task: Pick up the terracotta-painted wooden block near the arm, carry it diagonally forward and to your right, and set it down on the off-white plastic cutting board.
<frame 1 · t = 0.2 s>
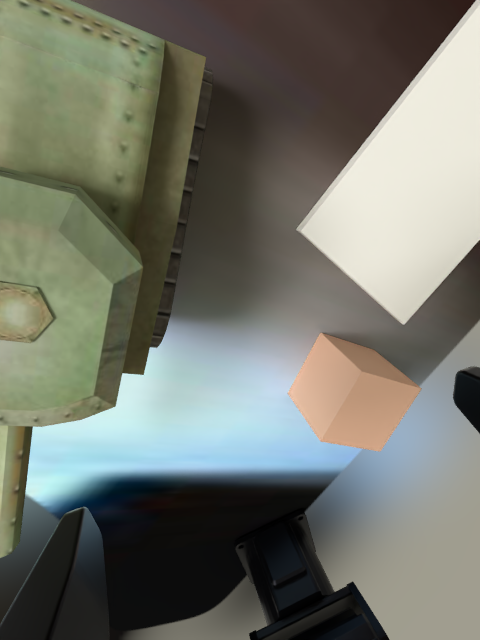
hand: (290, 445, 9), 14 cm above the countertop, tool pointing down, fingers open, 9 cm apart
toy: (57, 245, 19), on the countertop
board: (439, 176, 23), on the countertop
block: (330, 370, 27), on the countertop
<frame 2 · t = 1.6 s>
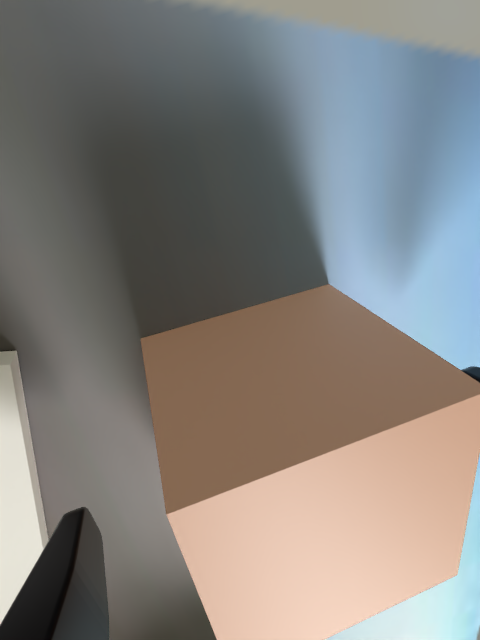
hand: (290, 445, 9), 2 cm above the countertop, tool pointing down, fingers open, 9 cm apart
block: (253, 386, 11), on the countertop
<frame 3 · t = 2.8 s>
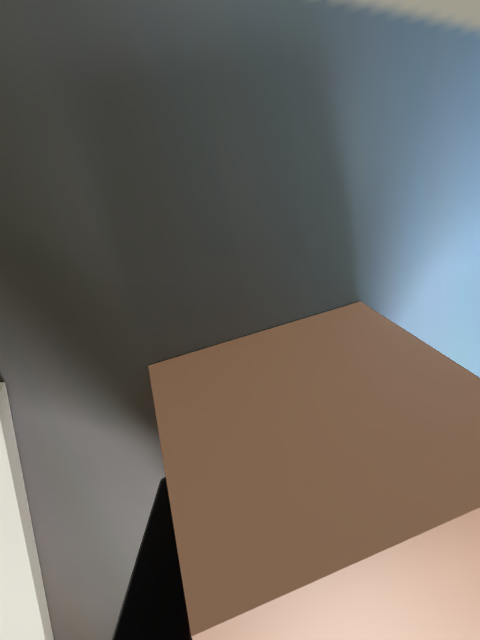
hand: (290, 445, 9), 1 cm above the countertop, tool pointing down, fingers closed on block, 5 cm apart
block: (274, 417, 10), on the countertop, touching gripper
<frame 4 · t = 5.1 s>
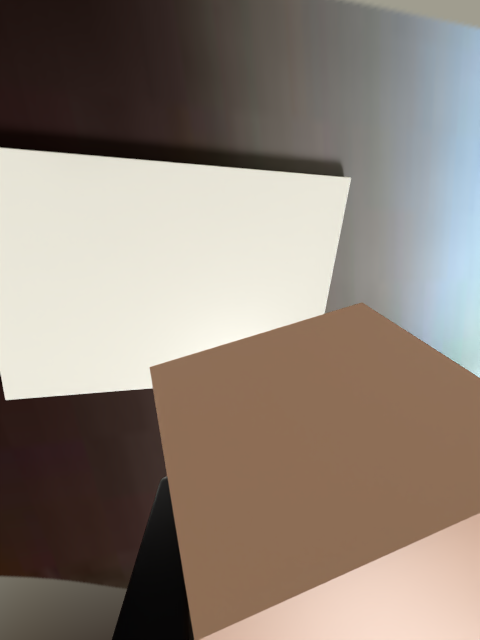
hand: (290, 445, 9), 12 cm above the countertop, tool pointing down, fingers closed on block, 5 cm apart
board: (177, 284, 18), on the countertop
block: (275, 418, 9), point 11 cm above the countertop, touching gripper
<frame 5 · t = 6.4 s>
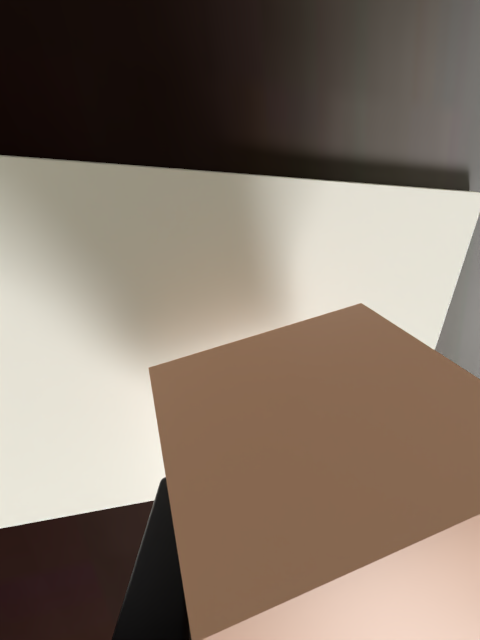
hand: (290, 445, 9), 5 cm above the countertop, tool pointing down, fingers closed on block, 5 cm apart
board: (231, 350, 13), on the countertop
block: (274, 419, 9), point 4 cm above the countertop, touching gripper
when the fingers open (3 cm above the countertop, at t = 7.5 s): block drops 1 cm, resting on board.
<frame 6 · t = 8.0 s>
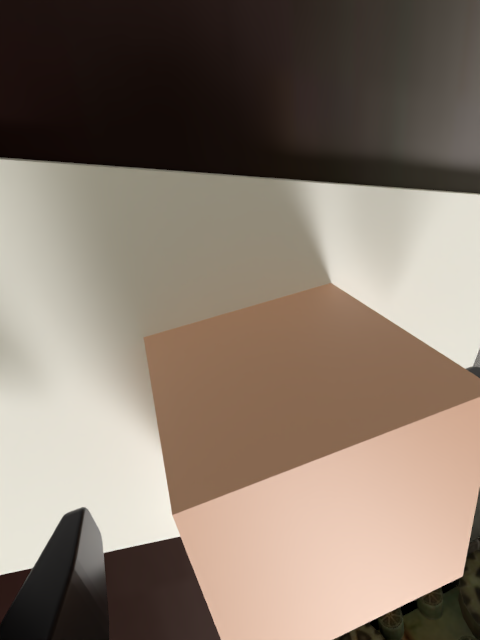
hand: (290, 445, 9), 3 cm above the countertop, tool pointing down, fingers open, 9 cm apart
toy: (457, 586, 23), on the countertop
board: (248, 375, 11), on the countertop
block: (256, 387, 11), point 1 cm above the countertop, touching board
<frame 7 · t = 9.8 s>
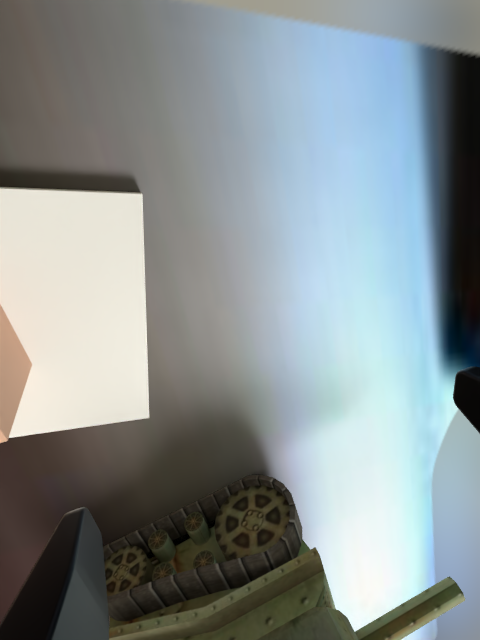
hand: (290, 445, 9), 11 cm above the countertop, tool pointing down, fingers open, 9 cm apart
toy: (247, 525, 27), on the countertop
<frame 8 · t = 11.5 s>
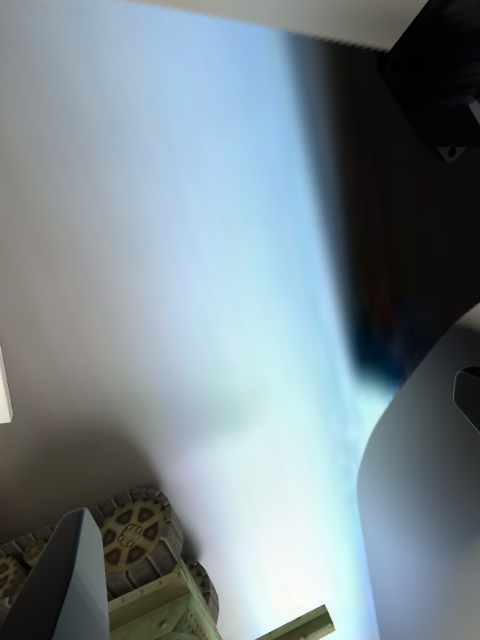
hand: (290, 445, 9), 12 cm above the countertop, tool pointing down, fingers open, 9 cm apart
toy: (144, 537, 26), on the countertop
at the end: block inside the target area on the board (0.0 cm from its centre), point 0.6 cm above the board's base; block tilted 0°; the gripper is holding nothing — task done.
